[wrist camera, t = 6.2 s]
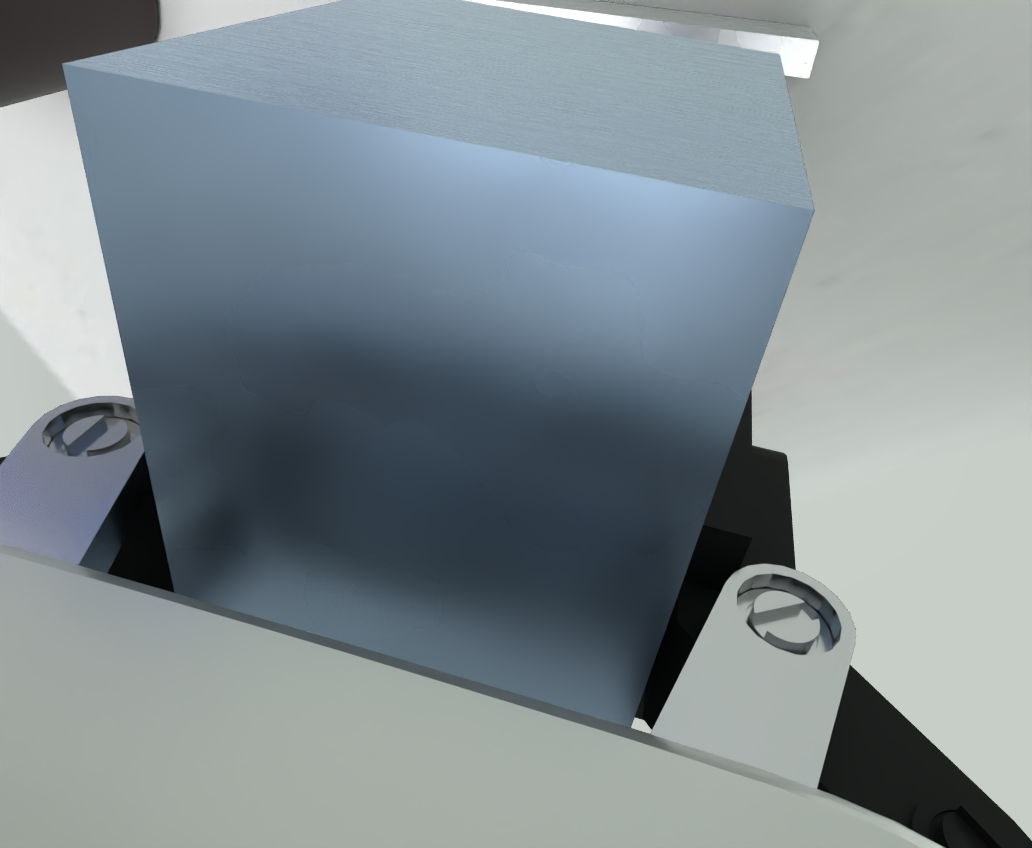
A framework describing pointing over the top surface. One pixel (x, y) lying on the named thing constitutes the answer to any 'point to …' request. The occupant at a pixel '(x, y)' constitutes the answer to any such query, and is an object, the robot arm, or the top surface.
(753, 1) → the top surface
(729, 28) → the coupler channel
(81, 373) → the top surface
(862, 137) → the top surface
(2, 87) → the bottle
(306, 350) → the lock block
